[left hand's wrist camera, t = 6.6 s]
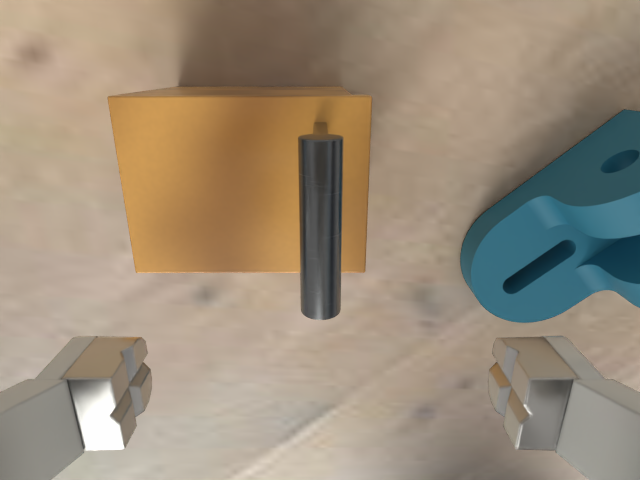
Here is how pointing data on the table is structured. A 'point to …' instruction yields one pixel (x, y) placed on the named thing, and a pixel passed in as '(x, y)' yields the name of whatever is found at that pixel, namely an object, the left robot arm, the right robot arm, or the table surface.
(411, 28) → the table surface
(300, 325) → the table surface
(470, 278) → the blue clevis bracket
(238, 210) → the lid
